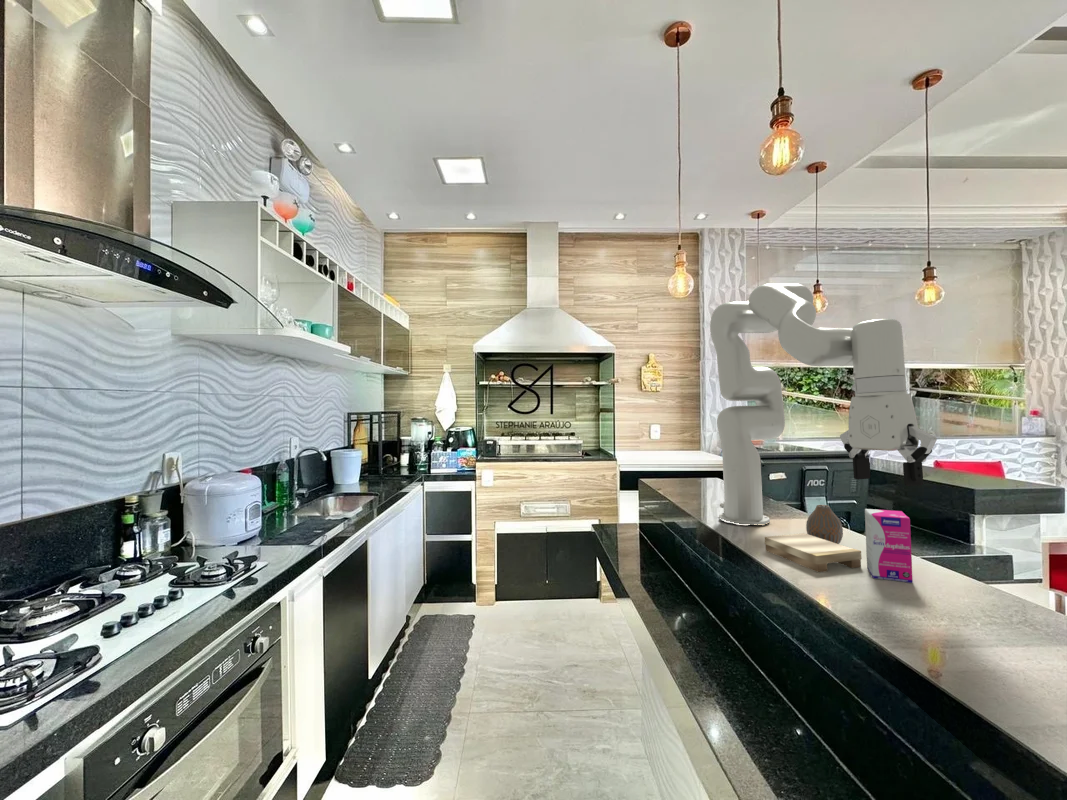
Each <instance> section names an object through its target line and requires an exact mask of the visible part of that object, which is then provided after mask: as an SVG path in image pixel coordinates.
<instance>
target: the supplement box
mask: <svg viewBox="0 0 1067 800" xmlns="http://www.w3.org/2000/svg"><path fill="white" fill-rule="evenodd" d="M864 521H865V523H864V524H865V526H864V527H865V552H866V554H865V555H866V569H867V571H868V572H869V574H870V577H871V578H872V579H876V580H877V579H878V580H886V581H895V582H902V583H903V582H904V583H907V584H908V583H909V584H912V583H913V582H914V581H913V563H912V562H913V561H912V560H913V559H912V537H911V535H912V533H911V532H912V531H911V519H910V517H909V516H908V515H906V514H905V513H904V512H903V511H902V510H889V509H876V508H875V509H873V508H864Z"/></svg>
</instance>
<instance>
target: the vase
mask: <svg viewBox="0 0 1067 800" xmlns="http://www.w3.org/2000/svg"><path fill="white" fill-rule="evenodd" d="M805 524H806V525H805V529H806V534H809V535H812V536H815V537H818V538H821V539H824V540H827V541H830V542H833V543H837V544H840V543H841V542H842V540H843V536H844V529H843V525H842V522H841V519H839V517H838V516H837V515H836V514H835V513H834V511H833V510H832V509H831V507H830V506H829V505H827V504H818V505H816V507H815V509H814V510H813V511H812V512H811V513H810V514H809V516H808V517H807V520H806V523H805Z"/></svg>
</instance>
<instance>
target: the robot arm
mask: <svg viewBox="0 0 1067 800" xmlns="http://www.w3.org/2000/svg"><path fill="white" fill-rule="evenodd" d="M816 316H817V310H816V307H815V306H814V295H813V293H812V291H811V290H810V288H808V287H807V286H806V285H804V284H800V283H774V282H773V283H765V284H761V285H759V286H757V287H756V288H754V289H753V290H752V291H751V293H750V295H749V296H748V300H747V301H731V302H724V303H722V304H720V305H718V306H717V307H716V308H714V311H713V312H712V315H711V317H710V321H709V322H710V324H709V329H710V330H709V331H710V332H709V333H710V337H711V340H712V344H713V346H714V350H715V353H716V361H717V363H716V364H717V373H718V382H719V383H718V384H719V390H720V394H721V396H722V398H723V399H724V400H726V401H730V402H755V405H734V406H729V407H728V406H727V407H726V408H724V409H722V410H721V411H720V412H719V414H718V416H717V419H716V425H717V430H718V435H719V439H720V440H719V441H720V446H721V453H722V455H721V456H722V457H721V458H722V473H723V475H722V476H723V478H722V479H723V494H724V496H723V498H724V501H723V502H721V503H719V508H721V509H723V513H720V514H719V515H718V518H719V517H720V518H721V519H724V520H726V521H730V522H734V523H739V524H750V525H754V524H757V525H758V524H766V523H768V522H770V520H771V519H770V517H769V516H767V515H764V508H763V505H764V504H763V491H762V490H763V483H762V465H761V455H760V453H759V450H758V449H757V448H756V446H755V445H754V443H753V441H761V440H772V439H777V438H779V437H780V436H781V435H782V434H783V432H784V429H785V424H786V423H785V420H786V419H785V411H784V399H783V398H784V397H783V390H782V383H781V379H780V377H779V376H778V373H777V372H776V371H775V370H773V369H772V368H770V367H766V366H753V365H752V362H751V353H750V349H749V348H748V346H747V344H746V342H745V341H744V340H743V338H741V337H740V336H739V335H740V334H770V333H773V332H776V331H777V335H778V336H777V337H778V341H779V344H780V346H781V348H782V349H783V350H784V352H786V353H787V354H788V355H790V356H791V357H793V358H794V359H796V360H797V361H799V362H800V363H802V364H804V365H808V366H811V367H847V366H848V367H853V368H852V369H853V379H854V382H853V384H852V385H851V390H852V391H854V394H855V395H854V396H852V397H851V399H850V404H849V409H848V410H849V411H848V430H846V431H845V432H842V433H841V434H840V435H839V439H840V441H841V443H842V444H843V445H844V446H843V449H844V450H846V452H847V453H848V456H849V458H850V459H852V467H853V470H852V471H853V478H854V480H868V479H870V478H871V466H870V465H871V463H870V461H871V460H870V458H869V457H866V456H868V454H869V453H870V452H871V451H885V452H886V451H887V452H894V451H898V452H899V454H900V455H901V456H902V458H904V460H905V462H903V463H902V469H903V481H904V482H903V484H904V485H905V486H906V487H916V486H923V485H924V472H923V463H924V462H926V461H927V458H928V457H929V456H930V455H931V454H932V452H933V449H934V447H935V445H936V442H937V440H938V439H937V437H936V436H935V435H934V434H931V433H929V432H927V431H925V430H923V429H921V428H919V425H918V420H917V414H916V409H915V406H914V402H913V399H912V397H911V394H910V393H908V392H907V379H906V378H907V377H906V366H905V365H906V364H905V354H904V353H905V352H904V340H903V339H904V337H903V329H902V328H903V327H902V324H901V322H900V321H899V320H897V319H894V318H878V319H871V320H865V321H861V322H859V323H857V324H855V325H854V326H853V327H849V328H847V327H844V328H843V327H835V328H834V327H815V326H813V324H814V322H815V320H816V319H817V317H816ZM919 443H920V444H919ZM770 523H771V522H770Z"/></svg>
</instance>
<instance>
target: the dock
mask: <svg viewBox="0 0 1067 800" xmlns="http://www.w3.org/2000/svg"><path fill="white" fill-rule="evenodd" d="M764 544H765V551H766V552H768V553H770V554H773V555H775V556H778V557H781V558H782V559H784V560H787V561H790V562H792V563H795V564H797V565H800V566H802V567H805V568H806V569H809V570H811V571H813V572H817V573H824V572H825V573H826V572H828V564H832V563H836V564H840V565H842V566H845V567H848V568H850V569H858V568H859V569H860V568H861V567H862V561H861V560H862V551H861V550H859V549H856V548H851V547H848V546H845V545H842V544H840V543H839V544H837V543H833V542H830V541H827V540H824V539H821V538H818V537H815V536H812V535H809V534H807V533H805V532H803V533H791V534H781V535H780V534H779V535H771V536H764Z"/></svg>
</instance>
